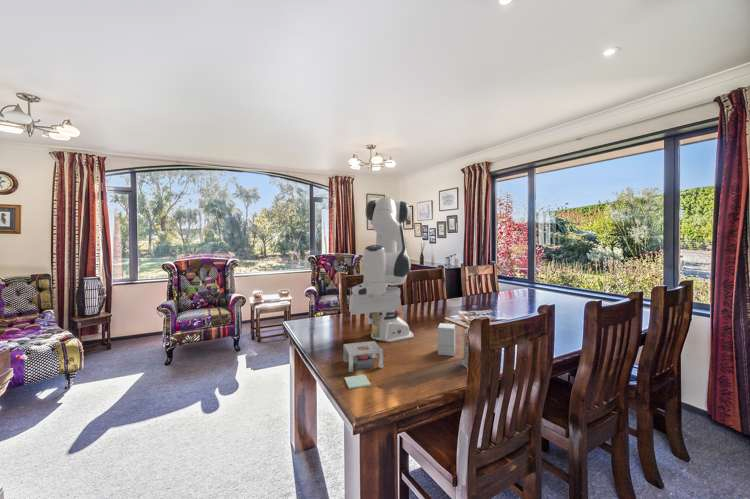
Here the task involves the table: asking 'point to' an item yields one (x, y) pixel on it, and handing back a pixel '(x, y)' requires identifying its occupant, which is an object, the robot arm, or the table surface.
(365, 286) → the robot arm
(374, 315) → the dowel
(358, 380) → the coaster
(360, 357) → the button
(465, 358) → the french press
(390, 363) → the table surface
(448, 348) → the supplement box
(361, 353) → the box
